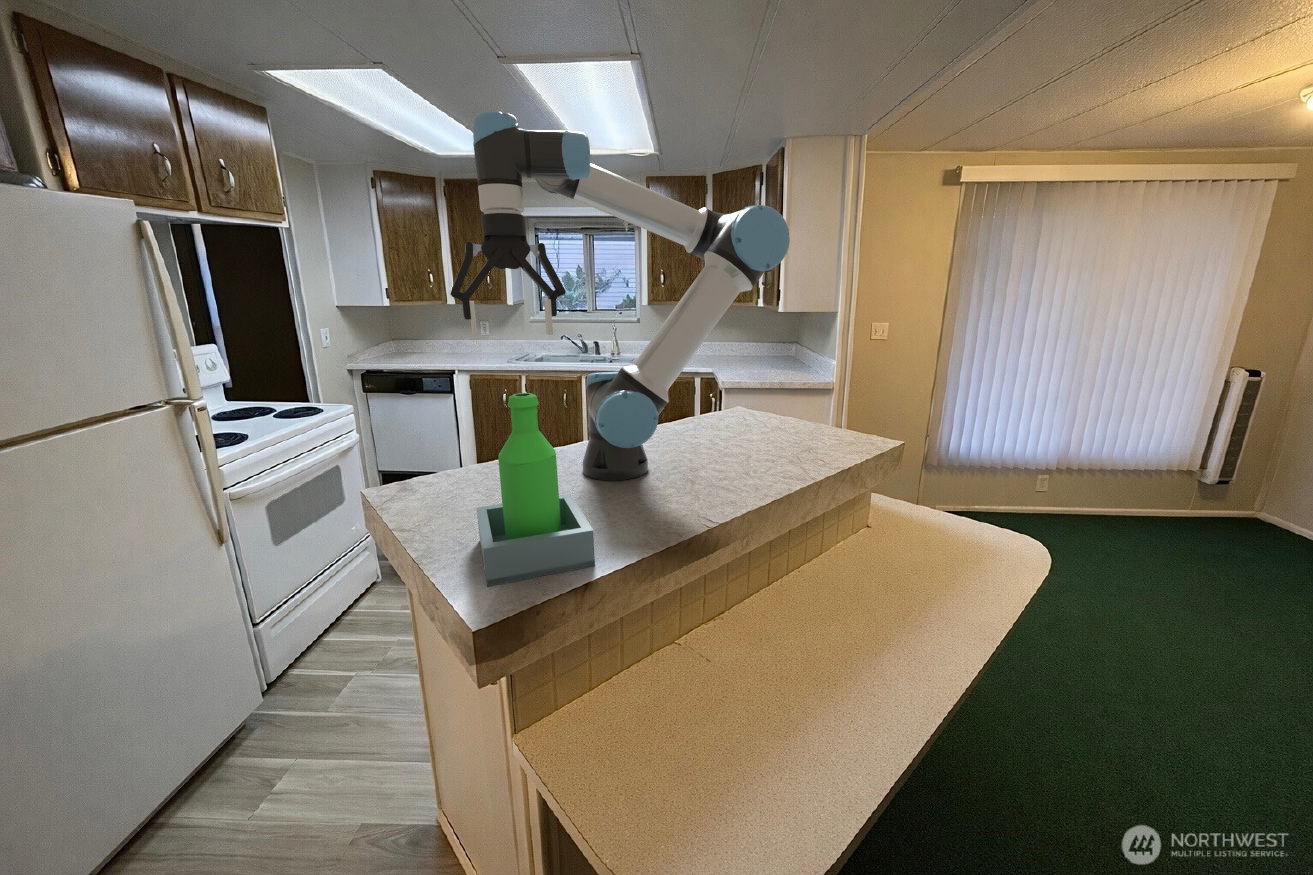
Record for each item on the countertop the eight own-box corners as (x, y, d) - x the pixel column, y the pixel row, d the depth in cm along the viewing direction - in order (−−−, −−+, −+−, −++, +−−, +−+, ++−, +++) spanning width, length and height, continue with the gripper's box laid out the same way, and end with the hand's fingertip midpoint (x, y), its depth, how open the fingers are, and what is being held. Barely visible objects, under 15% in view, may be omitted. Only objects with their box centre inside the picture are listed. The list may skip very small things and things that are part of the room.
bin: (572, 524, 99) (570, 493, 97) (594, 565, 84) (593, 530, 83) (479, 540, 93) (476, 507, 92) (487, 586, 79) (483, 548, 77)
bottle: (511, 564, 83) (496, 403, 76) (502, 540, 91) (488, 392, 84) (568, 552, 87) (558, 397, 80) (555, 530, 94) (545, 387, 87)
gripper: (567, 218, 104) (574, 331, 110) (426, 214, 95) (441, 337, 101) (577, 213, 97) (583, 334, 103) (426, 209, 89) (442, 341, 94)
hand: (513, 336), depth 102 cm, fingers open, 13 cm apart
